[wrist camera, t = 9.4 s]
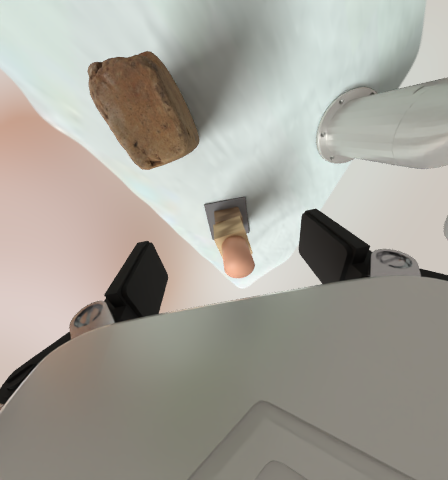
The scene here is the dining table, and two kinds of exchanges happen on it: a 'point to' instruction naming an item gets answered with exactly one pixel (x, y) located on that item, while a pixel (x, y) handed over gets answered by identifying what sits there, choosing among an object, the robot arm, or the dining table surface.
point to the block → (143, 108)
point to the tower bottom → (227, 214)
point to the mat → (226, 205)
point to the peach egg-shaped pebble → (237, 257)
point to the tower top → (229, 231)
